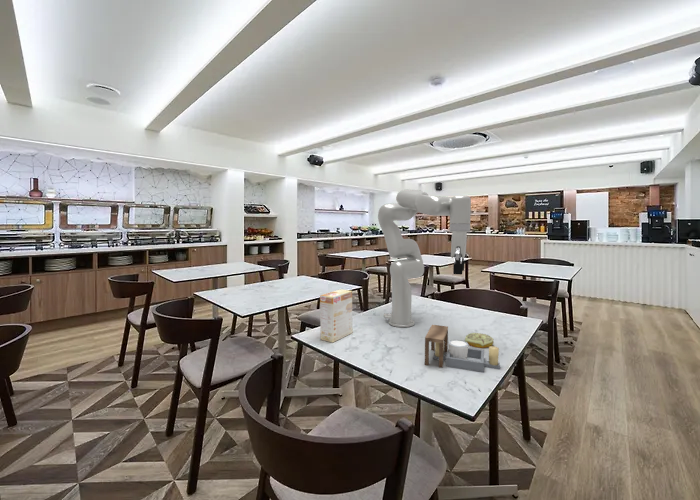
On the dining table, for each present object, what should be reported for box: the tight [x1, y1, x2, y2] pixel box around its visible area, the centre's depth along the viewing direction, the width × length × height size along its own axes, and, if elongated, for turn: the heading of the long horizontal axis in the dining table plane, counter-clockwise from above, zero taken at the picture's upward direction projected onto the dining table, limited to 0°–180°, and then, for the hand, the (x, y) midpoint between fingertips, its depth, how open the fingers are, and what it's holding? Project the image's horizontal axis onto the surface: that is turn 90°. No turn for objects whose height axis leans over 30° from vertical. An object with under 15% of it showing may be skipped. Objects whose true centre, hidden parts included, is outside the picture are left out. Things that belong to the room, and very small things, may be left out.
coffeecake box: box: [319, 288, 354, 343], centre depth 142 cm, size 15×7×20 cm, turn 145°
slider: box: [432, 342, 501, 373], centre depth 114 cm, size 22×12×6 cm, turn 67°
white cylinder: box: [448, 339, 470, 360], centre depth 115 cm, size 7×7×7 cm
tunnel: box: [424, 324, 449, 368], centre depth 118 cm, size 6×15×10 cm, turn 157°
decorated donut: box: [464, 332, 494, 349], centre depth 132 cm, size 10×11×4 cm
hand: (458, 272), depth 126 cm, fingers open, 9 cm apart
